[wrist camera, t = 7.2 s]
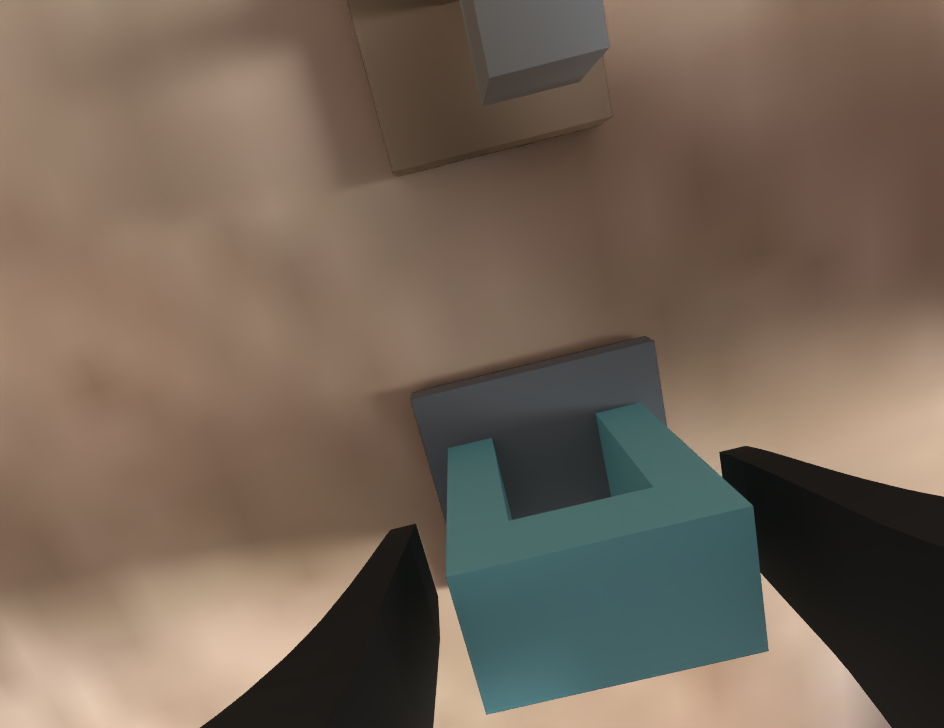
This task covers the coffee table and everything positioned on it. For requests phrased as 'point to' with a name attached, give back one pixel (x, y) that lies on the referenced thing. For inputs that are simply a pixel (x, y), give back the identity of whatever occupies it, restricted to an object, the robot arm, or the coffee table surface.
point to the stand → (480, 74)
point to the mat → (541, 422)
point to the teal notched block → (602, 570)
